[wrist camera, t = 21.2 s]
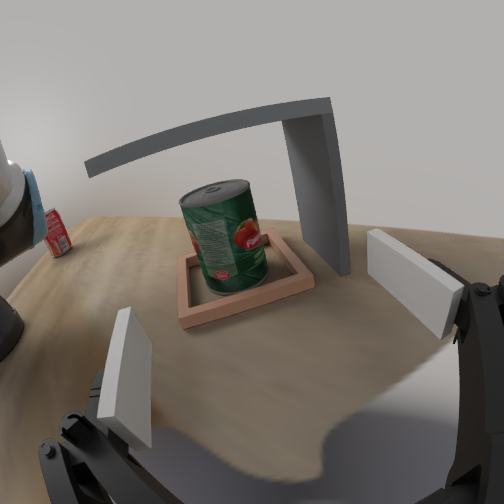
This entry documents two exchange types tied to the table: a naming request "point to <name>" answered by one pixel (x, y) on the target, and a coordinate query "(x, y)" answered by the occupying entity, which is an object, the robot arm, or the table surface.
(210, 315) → the pink square frame
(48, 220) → the soda can
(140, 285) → the table surface
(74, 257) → the table surface
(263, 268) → the canned tomato
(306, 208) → the awning
